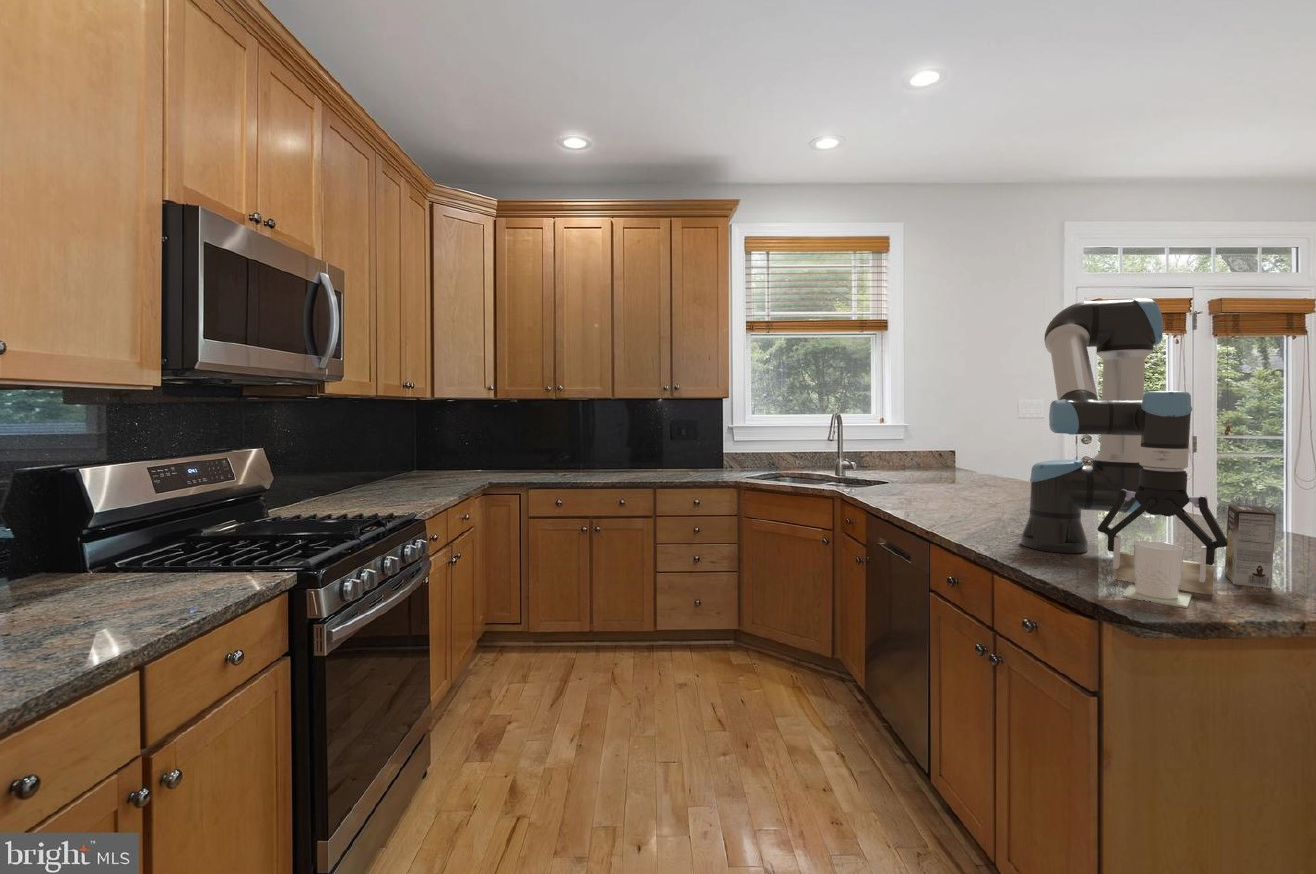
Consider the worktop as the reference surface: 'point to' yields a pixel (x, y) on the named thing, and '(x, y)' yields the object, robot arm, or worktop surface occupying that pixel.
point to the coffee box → (1250, 545)
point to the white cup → (1157, 569)
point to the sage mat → (1180, 601)
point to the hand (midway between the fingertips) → (1157, 573)
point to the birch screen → (1188, 574)
